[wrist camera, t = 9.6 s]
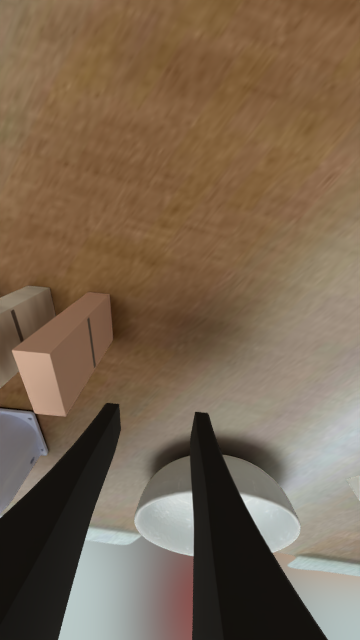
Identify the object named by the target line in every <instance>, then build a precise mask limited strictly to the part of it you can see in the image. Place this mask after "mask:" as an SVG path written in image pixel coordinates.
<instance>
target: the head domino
mask: <svg viewBox="0 0 360 640" xmlns="http://www.w3.org/2000/svg"><path fill="white" fill-rule="evenodd" d="M112 341H113V330H112V317H111V304H110V294H103V293H93V292H87V293H86V294H85V295H84V296H82V297H81V298H80V299H78V300H77V301H76V302H74V303H73V304H72V305H70V306H69V307H68V308H66V309H65V310H64V311H62V312H61V313H60V314H58V315H57V316H56V317H55V318H53V319H52V320H51V321H49V322H48V323H47V324H45V325H44V326H43V327H41V328H40V329H39V330H37V331H36V332H35V333H33V334H32V335H31V336H30V337H28V338H27V339H26V340H24V341H23V342H22V343H20V344H19V345H18V346H16V347H15V348H14V349H12V353H13V355H14V358H15V361H16V364H17V366H18V369H19V372H20V374H21V377H22V380H23V383H24V385H25V388H26V391H27V393H28V396H29V399H30V402H31V404H32V407H33V410H34V412H35V414H45V415H55V416H67V414H68V412H69V411H70V409H71V408H72V406H73V404H74V403H75V401H76V399H77V398H78V396H79V395H80V393H81V391H82V390H83V388H84V386H85V385H86V383H87V382H88V380H89V378H90V377H91V375H92V373H93V372H94V370H95V368H96V367H97V365H98V364H99V362H100V360H101V359H102V357H103V355H104V354H105V352H106V351H107V349H108V347H109V346H110V344H111V342H112Z"/></svg>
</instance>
